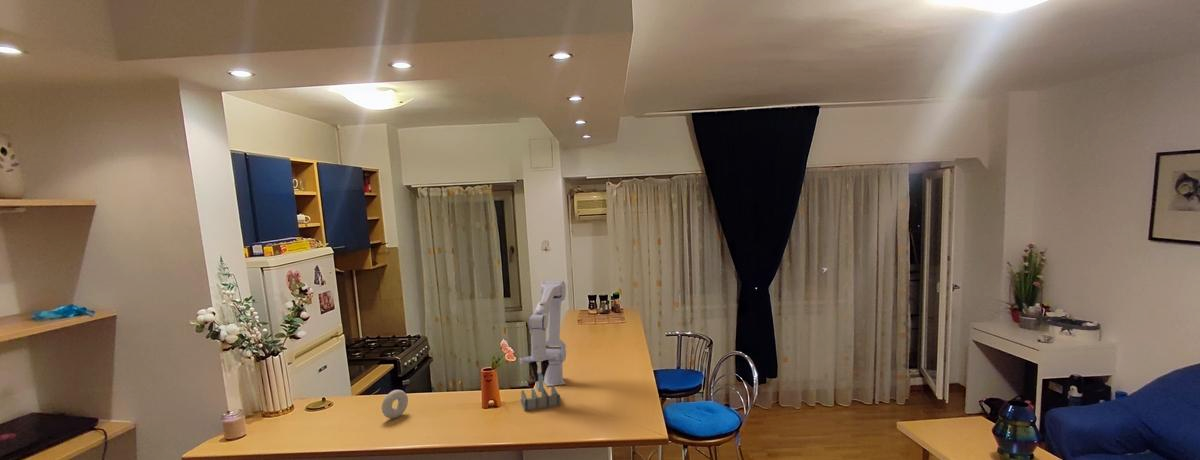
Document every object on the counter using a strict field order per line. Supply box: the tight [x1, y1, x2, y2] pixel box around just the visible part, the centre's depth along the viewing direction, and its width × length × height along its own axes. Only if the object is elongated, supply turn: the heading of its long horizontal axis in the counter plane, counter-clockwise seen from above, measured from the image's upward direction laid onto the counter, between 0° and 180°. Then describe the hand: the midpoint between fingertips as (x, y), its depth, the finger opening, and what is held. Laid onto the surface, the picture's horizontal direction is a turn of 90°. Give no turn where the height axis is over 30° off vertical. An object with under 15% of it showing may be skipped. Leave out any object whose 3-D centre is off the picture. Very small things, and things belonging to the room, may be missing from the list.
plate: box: [535, 369, 545, 393], centre depth 180 cm, size 7×2×6 cm, turn 18°
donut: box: [381, 389, 409, 420], centre depth 169 cm, size 10×4×10 cm, turn 149°
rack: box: [520, 386, 561, 412], centre depth 179 cm, size 10×14×4 cm
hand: (539, 380), depth 179 cm, fingers closed on plate, 2 cm apart
